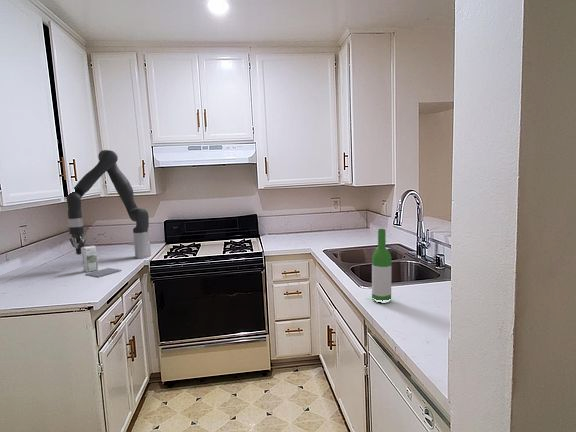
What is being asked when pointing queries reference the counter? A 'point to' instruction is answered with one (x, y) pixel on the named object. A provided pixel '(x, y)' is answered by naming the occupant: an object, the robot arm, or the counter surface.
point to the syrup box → (89, 258)
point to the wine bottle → (381, 269)
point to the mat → (103, 272)
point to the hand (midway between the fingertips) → (78, 254)
